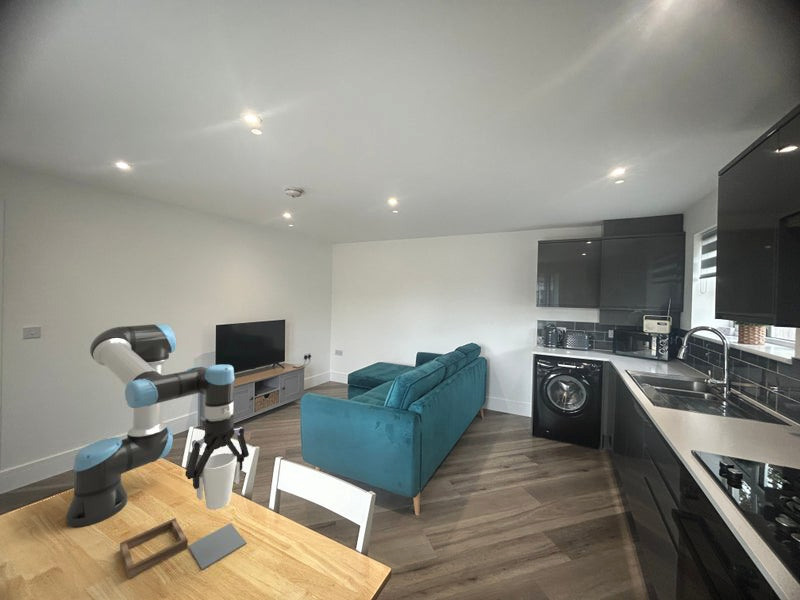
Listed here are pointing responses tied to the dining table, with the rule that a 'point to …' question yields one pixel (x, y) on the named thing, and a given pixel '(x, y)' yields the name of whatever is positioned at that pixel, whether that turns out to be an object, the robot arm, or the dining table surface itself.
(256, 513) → the dining table surface
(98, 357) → the robot arm
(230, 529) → the mat
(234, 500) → the dining table surface
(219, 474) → the foam cup
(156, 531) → the frame
